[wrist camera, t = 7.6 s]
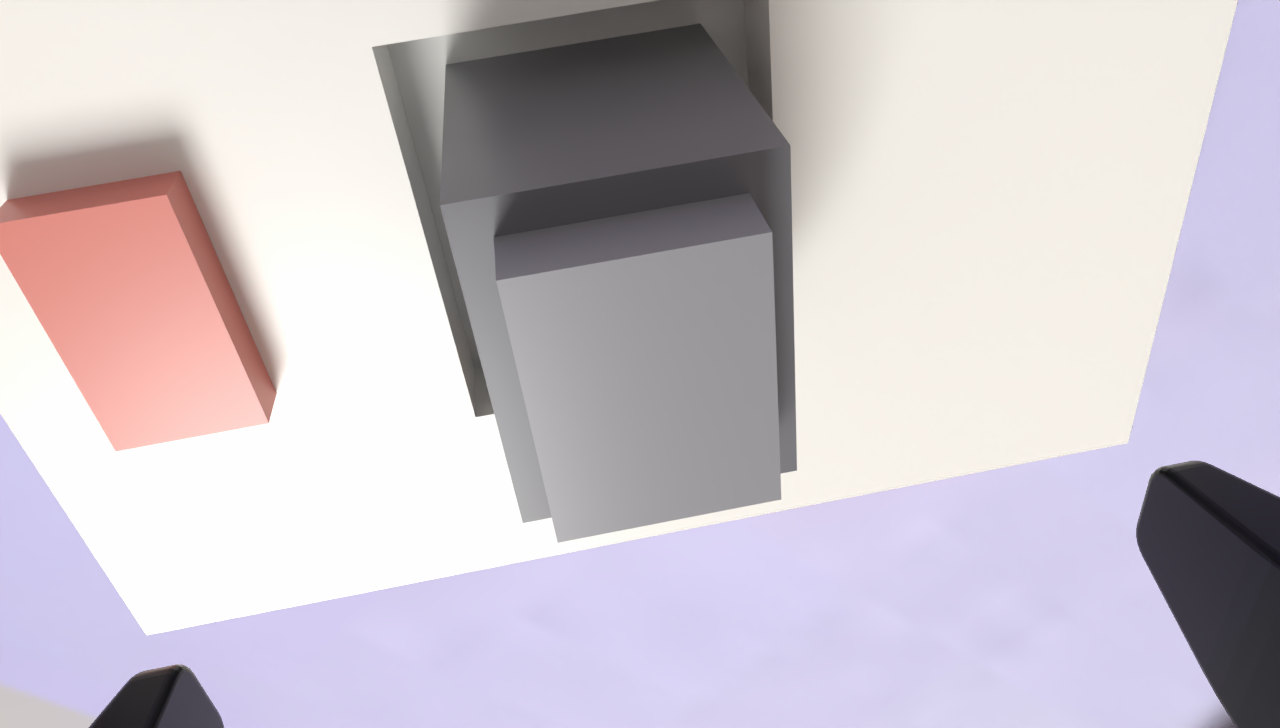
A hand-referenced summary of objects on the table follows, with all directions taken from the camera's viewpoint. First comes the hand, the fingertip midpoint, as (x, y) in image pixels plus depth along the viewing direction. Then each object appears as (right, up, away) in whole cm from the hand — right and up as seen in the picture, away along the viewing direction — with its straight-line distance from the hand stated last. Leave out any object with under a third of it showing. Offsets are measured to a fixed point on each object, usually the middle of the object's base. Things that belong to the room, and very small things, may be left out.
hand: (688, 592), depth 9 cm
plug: (-1, +5, +7) cm, 9 cm away
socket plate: (-1, +6, +9) cm, 11 cm away
